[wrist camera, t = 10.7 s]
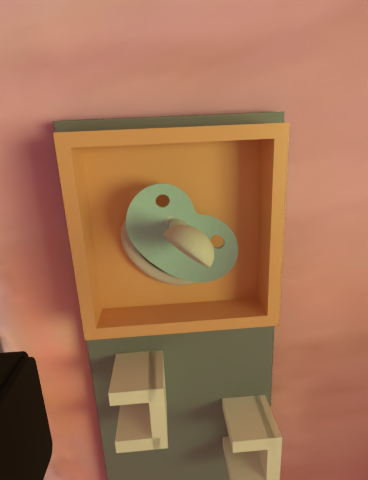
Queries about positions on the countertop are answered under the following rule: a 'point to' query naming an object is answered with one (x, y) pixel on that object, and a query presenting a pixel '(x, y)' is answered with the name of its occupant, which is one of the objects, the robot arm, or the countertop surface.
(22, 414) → the robot arm
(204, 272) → the pacifier
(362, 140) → the countertop surface
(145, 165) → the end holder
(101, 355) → the board
